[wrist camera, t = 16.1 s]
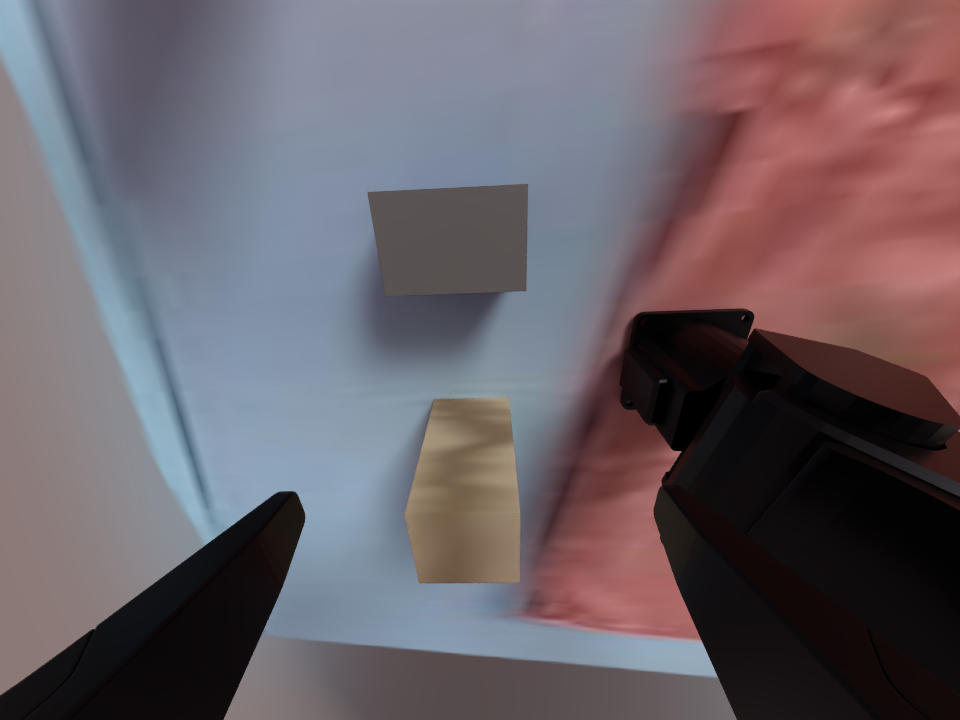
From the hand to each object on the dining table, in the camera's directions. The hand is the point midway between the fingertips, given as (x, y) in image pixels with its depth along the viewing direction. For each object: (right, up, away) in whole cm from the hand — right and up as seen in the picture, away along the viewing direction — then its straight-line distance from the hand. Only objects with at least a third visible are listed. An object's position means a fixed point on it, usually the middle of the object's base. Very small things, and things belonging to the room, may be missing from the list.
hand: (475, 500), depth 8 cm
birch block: (0, -1, +15) cm, 15 cm away
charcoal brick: (-1, +10, +10) cm, 14 cm away
